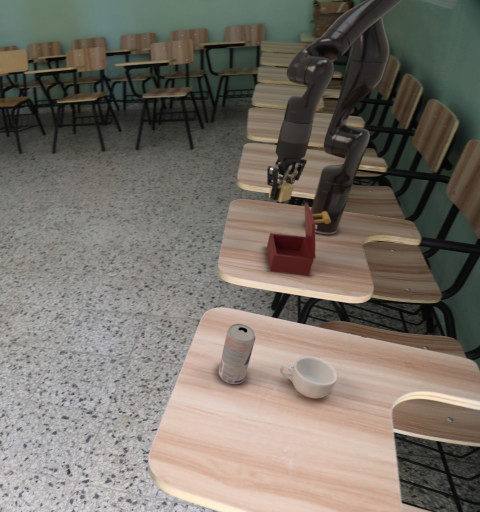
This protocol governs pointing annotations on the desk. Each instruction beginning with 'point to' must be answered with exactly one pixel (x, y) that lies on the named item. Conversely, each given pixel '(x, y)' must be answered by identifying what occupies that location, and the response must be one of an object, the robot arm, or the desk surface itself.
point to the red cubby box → (289, 254)
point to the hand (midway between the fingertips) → (279, 197)
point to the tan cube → (284, 191)
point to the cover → (313, 226)
